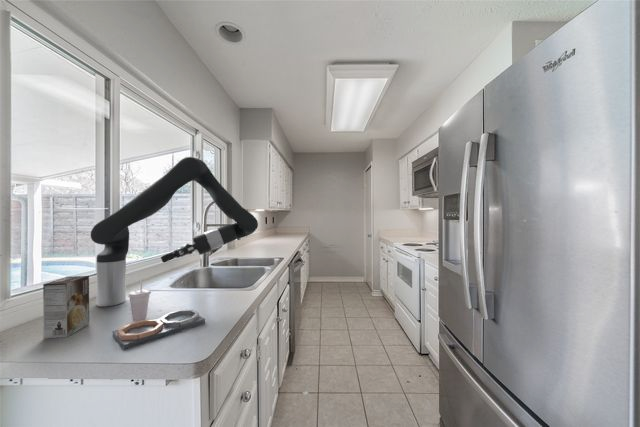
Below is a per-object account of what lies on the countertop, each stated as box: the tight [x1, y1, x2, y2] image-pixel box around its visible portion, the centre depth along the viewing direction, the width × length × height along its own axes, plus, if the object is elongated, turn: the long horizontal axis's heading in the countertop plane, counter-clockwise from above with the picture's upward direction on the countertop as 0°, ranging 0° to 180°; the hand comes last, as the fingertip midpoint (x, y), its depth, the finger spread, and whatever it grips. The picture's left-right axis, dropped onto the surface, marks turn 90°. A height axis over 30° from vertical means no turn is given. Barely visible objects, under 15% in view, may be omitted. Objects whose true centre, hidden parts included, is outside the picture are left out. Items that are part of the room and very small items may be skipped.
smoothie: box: [127, 278, 152, 323], centre depth 88 cm, size 6×6×14 cm
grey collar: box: [160, 309, 200, 326], centre depth 85 cm, size 10×10×1 cm
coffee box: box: [42, 275, 90, 339], centre depth 80 cm, size 9×6×16 cm
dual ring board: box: [112, 314, 206, 351], centre depth 81 cm, size 12×22×2 cm, turn 140°
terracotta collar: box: [117, 318, 163, 340], centre depth 77 cm, size 10×10×1 cm
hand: (162, 259), depth 92 cm, fingers open, 8 cm apart
